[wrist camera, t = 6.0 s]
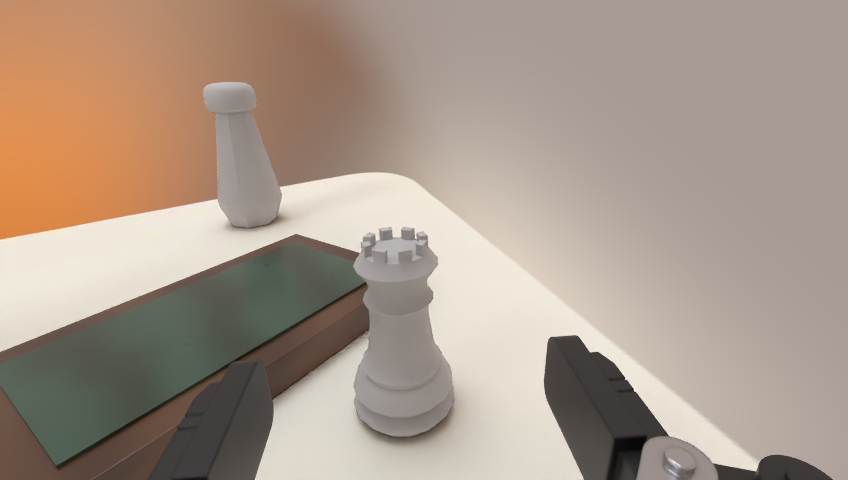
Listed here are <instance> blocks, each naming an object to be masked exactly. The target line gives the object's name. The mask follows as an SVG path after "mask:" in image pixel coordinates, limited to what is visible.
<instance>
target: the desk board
mask: <svg viewBox="0 0 848 480" xmlns="http://www.w3.org/2000/svg"><path fill="white" fill-rule="evenodd" d="M359 254H360V253H358V252H354V251H351V250H348V249H344V248H341V247H338V246H334V245H331V244H328V243H324V242H321V241H318V240H314V239H311V238H307V237H304V236H301V235H297V234H295V235H293V236H290V237H288V238H285V239H283V240H280V241H278V242H275V243H273V244H270V245H268V246H265V247H262V248H260V249H257V250H255V251H252V252H250V253H247V254H245V255H242V256H240V257H237V258H235V259H232V260H230V261H227V262H225V263H222V264H220V265H217V266H215V267H212V268H210V269H207V270H205V271H202V272H200V273H197V274H195V275H192V276H190V277H187V278H185V279H182V280H180V281H177V282H175V283H172V284H170V285H167V286H165V287H162V288H160V289H157V290H155V291H152V292H150V293H147V294H145V295H142V296H140V297H137V298H135V299H132V300H130V301H127V302H125V303H122V304H120V305H117V306H115V307H112V308H110V309H107V310H105V311H102V312H100V313H97V314H95V315H92V316H90V317H87V318H85V319H82V320H80V321H77V322H75V323H72V324H70V325H67V326H65V327H62V328H60V329H57V330H55V331H52V332H50V333H47V334H45V335H42V336H40V337H37V338H35V339H32V340H30V341H27V342H25V343H22V344H20V345H17V346H15V347H12V348H10V349H7V350H5V351H2V352H0V480H147V479H148V477H149V475H150V474H151V472H152V470H153V469H154V467H155V465H156V463H157V462H158V460H159V458H160V457H161V455H162V453H163V451H164V450H165V448H166V446H167V444H168V443H169V441H170V439H171V438H172V436H173V434H174V432H177V427H178V425H179V424H180V422H181V420H182V419H183V417H185V413H186V412H187V410H188V408H189V406H190V405H191V403H192V401H193V400H194V398H195V397H196V396H197V395H198V394H199V393H200V392H201V391H202V390H204V389H205V388H206V387H207V386H208V385H209V384H210V383H214V382H221V380H222V378H223V377H224V375H225V373H226V371H227V369H228V367H229V365H230V364H231V363H232V362H235V361H249V360H262V361H263V362H264V365H265V369H266V374H267V379H268V383H269V388H270V392H271V397H272V399H273V398H274V397H275V396H277V395H278V394H280V393H281V392H282V391H284V390H285V389H286V388H288V387H289V386H291V385H292V384H293V383H295V382H296V381H298V380H299V379H300V378H302V377H303V376H304V375H306V374H307V373H309V372H310V371H311V370H313V369H314V368H316V367H317V366H318V365H320V364H321V363H322V362H324V361H325V360H327V359H328V358H329V357H331V356H332V355H334V354H335V353H336V352H338V351H339V350H340V349H342V348H343V347H345V346H346V345H347V344H349V343H350V342H352V341H353V340H354V339H356V338H357V337H358V336H360V335H361V334H363V333H364V332H365V331H367V330H368V329H369V328H370V317H369V309H368V308H367V307H366V306H365V304H364V302H363V297H364V294H365V292H366V291H367V290H368V286H367V283H366V282H365V281H364V280H363V279H362V278H361V277H360V276H359V275H358V274H357V273H356V271H355V269H354V267H353V266H354V263H355V260H356V259H357V257H358V256H359Z"/></svg>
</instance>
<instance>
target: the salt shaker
mask: <svg viewBox="0 0 848 480" xmlns="http://www.w3.org/2000/svg"><path fill="white" fill-rule="evenodd" d="M203 99H204V103H205V106H206V108H207V110H208V111H211V112H213V113H215V120H216V138H217V139H216V140H217V183H218V202H219V205H220V207H221V209H222V210H223V212H224V213H225V215H226V216H227V217H228V219H229V220H230V222H231V223H232V224H233V226H236V227H244V228H252V227H256V226H261V225H266V224H269V223H270V222H272V221H273V220H274V219H275V218H276V217H277V214H278V210H279V206H280V202H281V198H282V193H281V190H280V188H279V185H278V182H277V180H276V177H275V174H274V172H273V169H272V166H271V164H270V161H269V158H268V156H267V153H266V150H265V148H264V145H263V142H262V140H261V137H260V134H259V132H258V129H257V126H256V123H255V121H254V118H253V116H252V113H251V110H252V109H253V108H255V107H256V95H255V92H254V90H253V88H252V87H251V86H250V85H248V84H245V83H240V82H226V83H214V84H210V85H207V86H206V87H205V88H204V90H203Z"/></svg>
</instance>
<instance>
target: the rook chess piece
mask: <svg viewBox="0 0 848 480" xmlns="http://www.w3.org/2000/svg"><path fill="white" fill-rule="evenodd" d="M379 232H380V240H378V241H376V240H375V234H373V233H368V234H367V235H365V236H364V237H363V242H361V248H362V251H361V253H360V254H359V256H358V257H357V259H356V260H355V263H354V266H353V267H354V269H355V271H356V273H357V274H358V275H359V276H360V277H361V278H362V279H363V280H364V281H365V282H366V283H367V286H368V290H367V291H366V292H365V294H364V297H363V302H364V304H365V306H366V307H367V308H368V309H369V317H370V328H369V345H368V350H367V351H366V352H365V353H364V355H363V360H362V362H361V364H360V365H359V366H358V370H357V374H356V378H355V382H354V389H355V392H356V395H355V400H354V404H355V407H356V410H357V413H358V416H359V417H360V418H361V419H362V420H363V421H364V422H365V423H366V424H367V425H369V426H370V427H371V428H372V429H374V430H376V431H378V432H381V433H383V434H386V435H389V436H392V437H412V436H415V435H418V434H421V433H424V432H427V431H429V430H430V429H431V428H432V427H434V426H435V425H436V424H437V423H439V422H440V421H441V420H442V419H444V418H445V417H446V416H447V415H448V413H449V411H450V409H451V407H452V405H453V403H454V390H453V386H452V371H451V368H450V366H449V364H448V362H447V361H446V360H445V358H444V357H443V355H442V352H441V351H440V349H439V348H438V346H437V345H436V344H435V342H434V339H433V334H432V329H431V324H430V318H429V308H428V305H429V303H430V302H431V301H432V300H433V291H432V290H431V289H430V288H429V287H428V285H427V278H428V277H429V276H430V275H431V273H432V272H433V271H434V269H435V268H436V267H437V265H438V257H437V256H436V255H435V254H434V253H433V252H432V251H431V250H430V248H429V247H428V236H427V235H426V234H425V233H424V232H423V231H422V232H418V233H417V240H416V239H415V233H414V228H408V227H403V228H402V229H401V232H402V237H399V238H392V229H391V227H389V228H383V229H379Z"/></svg>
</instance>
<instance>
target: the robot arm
mask: <svg viewBox="0 0 848 480" xmlns="http://www.w3.org/2000/svg"><path fill="white" fill-rule="evenodd" d="M544 388H545V394H546V398H547V401H548V404H549V406H550V408H551V410H552V412H553V414H554V416H555V418H556V421H557V423H558V425H559V427H560V429H561V431H562V433H563V435H564V437H565V440H566V442H567V444H568V446H569V448H570V450H571V452H572V454H573V457H574V459H575V461H576V463H577V465H578V467H579V469H580V471H581V474H582V476H583V478H584V480H833V479H831V478H830V477H829V476H827V475H826V474H825V473H824V472H822V471H820V470H819V469H817V468H816V467H814V466H812V465H810V464H808V463H806V462H803V461H801V460H798V459H796V458H792V457H788V456H783V455H771V456H767V457H765V458H764V459H762V460H761V461H760V463H759V466H758V468H757V471H756V472H755V471H750V470H745V469H739V468H734V467H729V466H723V465H718V464H714V463H712V462H711V460H710V459H709V458H708V457H707V456H706V455H705V454H704V453H703V452H702V451H700V450H699V449H698V448H696V447H695V446H693V445H691V444H689V443H688V442H685V441H683V440H680V439H677V438H673V437H670V436H669V435H668V434H667V433H666V431H665V430H664V429H663V427H662V426H661V425H660V423H659V422H658V421H657V419H656V418H655V417H654V415H653V414H652V413H651V411H650V410H649V409H648V407H647V406H646V405H645V403H644V402H643V401H642V399H641V398H640V397H639V395H638V394H637V393H636V392H634V389H633V387H632V386H631V385H630V384H629V382H628V381H627V380H625V377H624V376H623V374H622V373H621V372H620V370H619V369H618V368H617V366H616V365H615V364H614V363H613V362H612V361H610V360H609V359H607V358H606V357H605V356H603V355H602V354H600V353H599V352H591V353H590V352H589V351H588V349H587V348H586V346H585V345H584V343H583V342H582V341H581V339H580V338H579V337H578V336H576V335H574V336H560V337H550V338H549V340H548V345H547V355H546V365H545V375H544ZM272 422H273V401H272V397H271V392H270V388H269V383H268V379H267V374H266V369H265V365H264V362H263V361H262V360H249V361H235V362H232V363H231V364H230V365H229V367H228V369H227V371H226V373H225V375H224V377H223V378H222V380H221V382H214V383H210V384H209V385H208V386H207V387H206V388H205V389H204V390H202V391H201V392H200V393H199V394H198V395H197V396H196V397H195V398H194V400H193V401H192V403H191V405H190V406H189V408H188V410H187V412H186V413H185V417H183V419H182V420H181V422H180V424H179V425H178V427H177V432H174V434H173V436H172V438H171V439H170V441H169V443H168V444H167V446H166V448H165V450H164V451H163V453H162V455H161V457H160V458H159V460H158V462H157V463H156V465H155V467H154V469H153V470H152V472H151V474H150V475H149V477H148V479H147V480H255V476H256V473H257V470H258V467H259V464H260V461H261V458H262V455H263V452H264V448H265V445H266V442H267V439H268V436H269V433H270V430H271V426H272Z"/></svg>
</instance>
